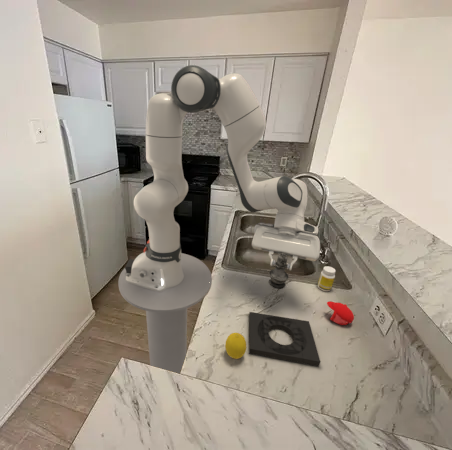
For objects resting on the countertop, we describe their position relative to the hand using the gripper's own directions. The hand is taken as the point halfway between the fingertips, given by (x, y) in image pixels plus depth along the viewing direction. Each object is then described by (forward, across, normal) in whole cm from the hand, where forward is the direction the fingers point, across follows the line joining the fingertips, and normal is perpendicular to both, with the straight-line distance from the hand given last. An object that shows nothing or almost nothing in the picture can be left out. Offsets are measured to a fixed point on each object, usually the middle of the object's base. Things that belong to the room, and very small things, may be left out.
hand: (280, 268), depth 79 cm
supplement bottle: (-2, +17, +25) cm, 31 cm away
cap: (+10, +20, +14) cm, 26 cm away
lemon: (+28, -8, -4) cm, 29 cm away
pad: (+20, +4, +3) cm, 21 cm away
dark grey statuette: (+4, 0, +5) cm, 7 cm away
